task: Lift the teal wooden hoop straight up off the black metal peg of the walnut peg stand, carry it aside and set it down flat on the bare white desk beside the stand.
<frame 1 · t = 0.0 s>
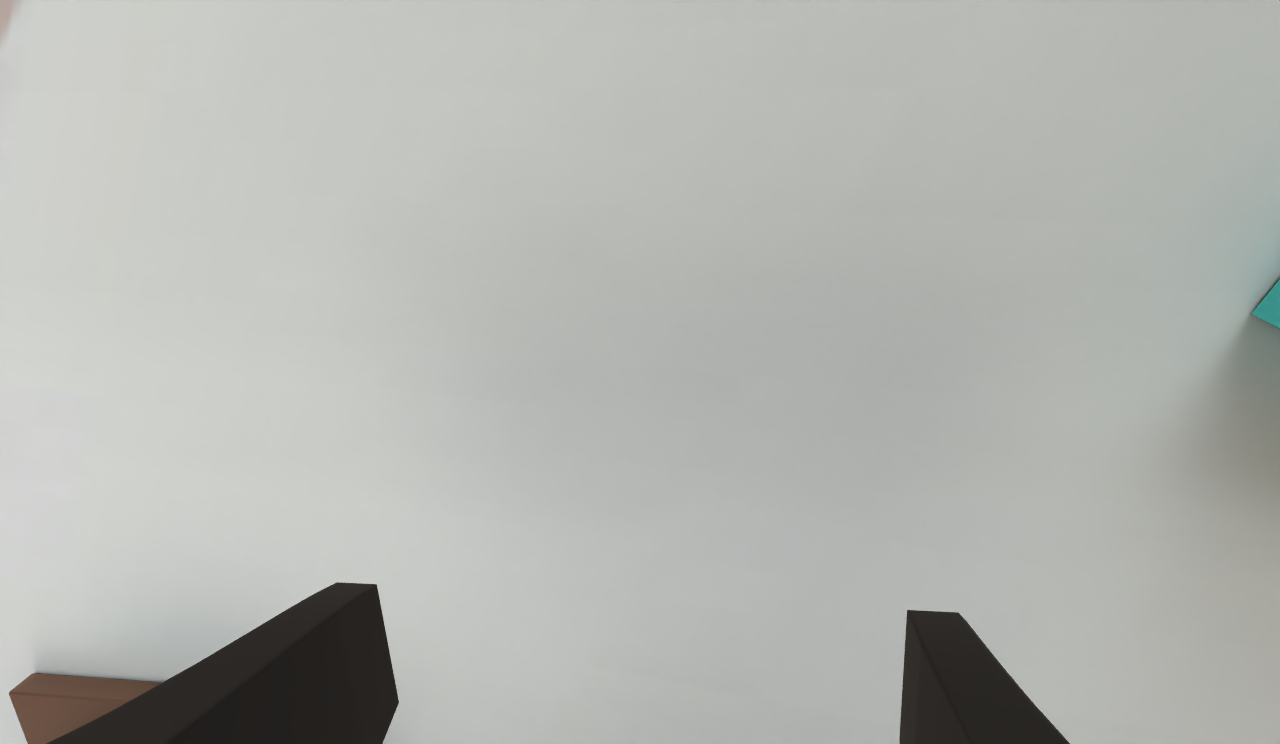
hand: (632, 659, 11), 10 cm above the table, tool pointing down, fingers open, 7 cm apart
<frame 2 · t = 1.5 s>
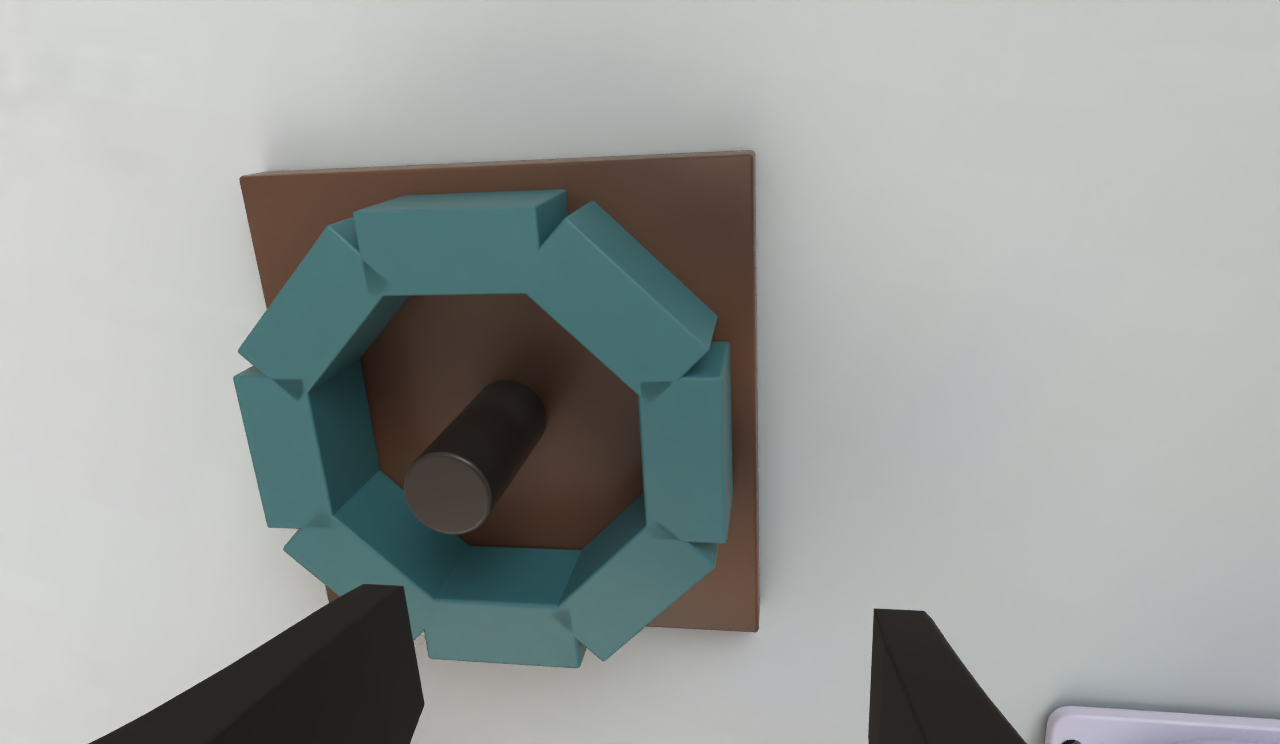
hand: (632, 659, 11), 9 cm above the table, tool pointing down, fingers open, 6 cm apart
hoop: (510, 415, 20), point 1 cm above the table, touching peg stand
peg stand: (522, 400, 21), on the table
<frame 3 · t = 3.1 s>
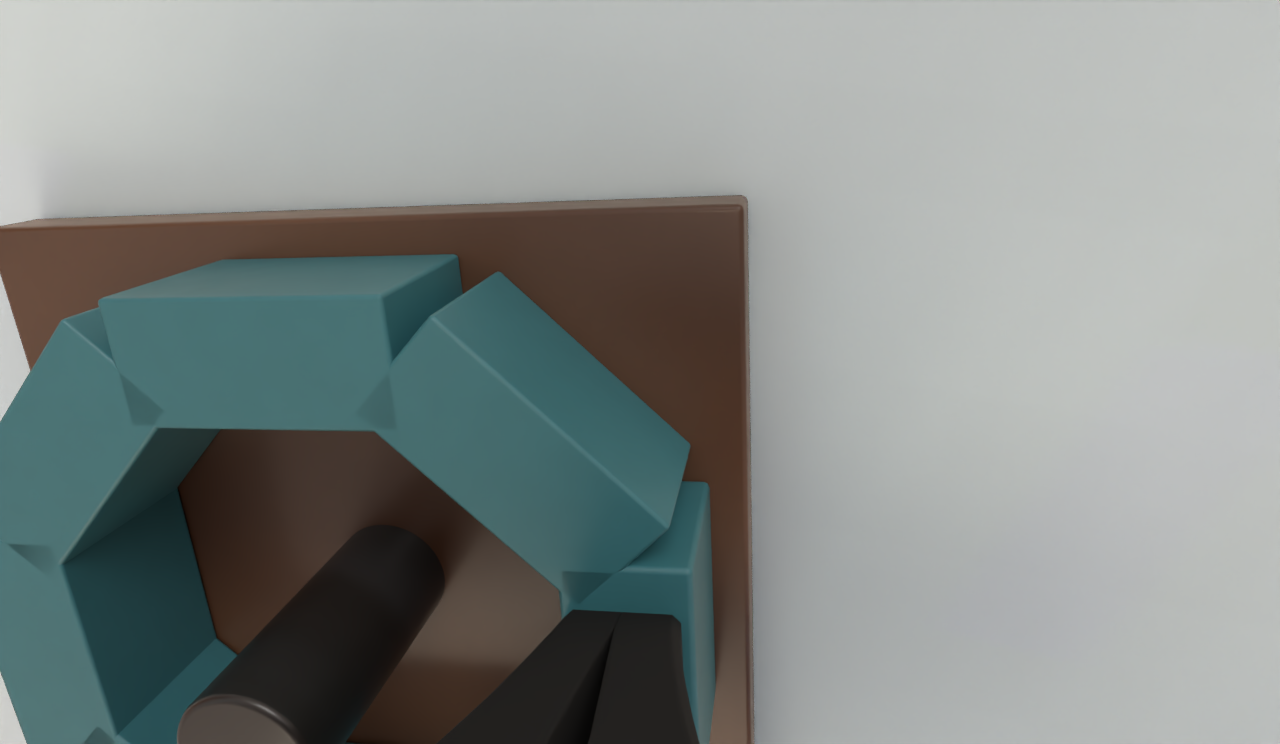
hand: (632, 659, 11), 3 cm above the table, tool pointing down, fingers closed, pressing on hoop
hoop: (392, 573, 14), point 1 cm above the table, touching gripper, peg stand
peg stand: (418, 541, 14), on the table
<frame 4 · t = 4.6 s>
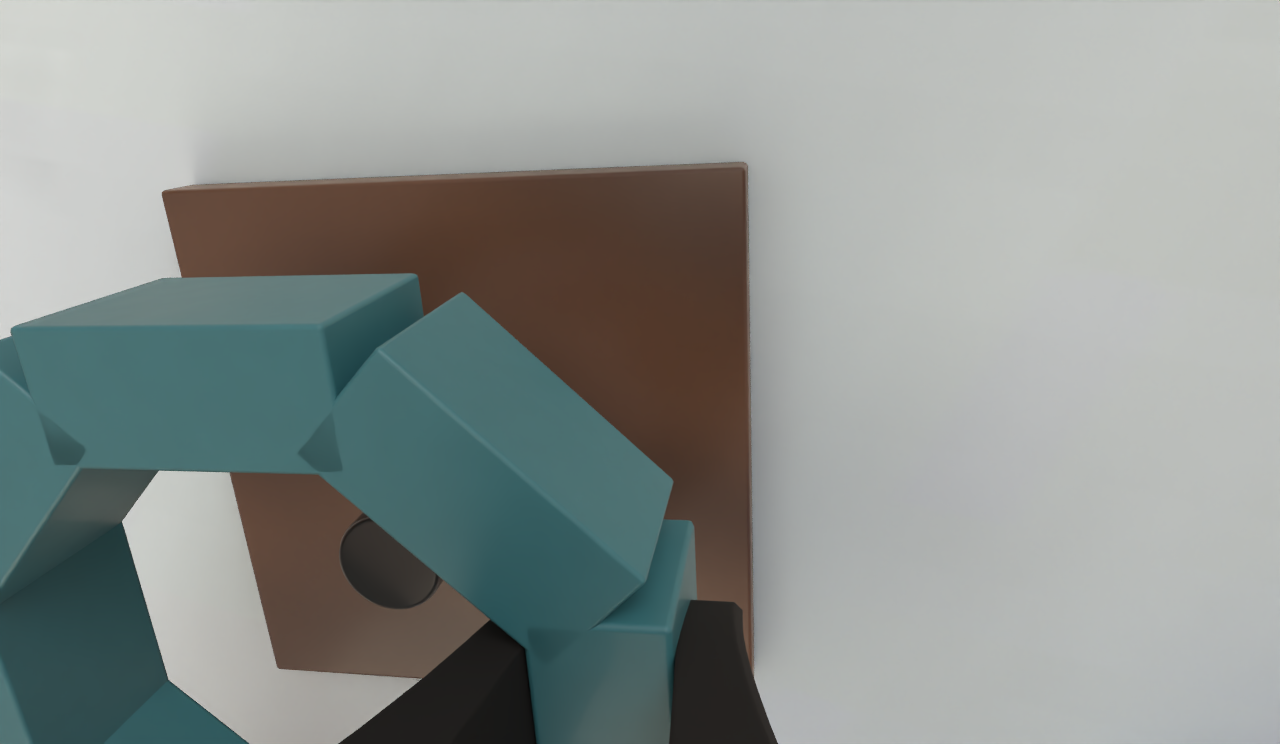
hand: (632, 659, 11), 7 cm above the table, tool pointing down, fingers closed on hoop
hoop: (354, 614, 13), point 6 cm above the table, touching gripper
peg stand: (487, 440, 18), on the table
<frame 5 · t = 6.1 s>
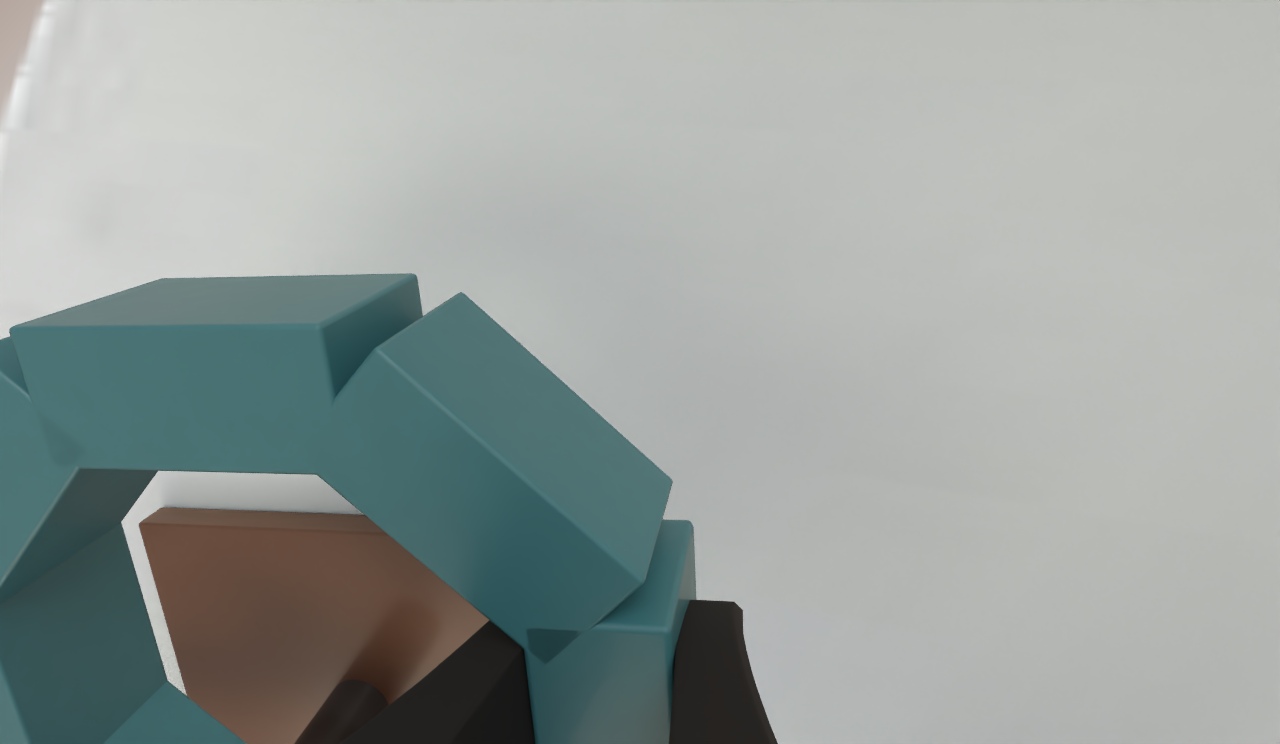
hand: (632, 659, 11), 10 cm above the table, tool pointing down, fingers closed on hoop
hoop: (353, 614, 13), point 9 cm above the table, touching gripper
peg stand: (376, 681, 25), on the table
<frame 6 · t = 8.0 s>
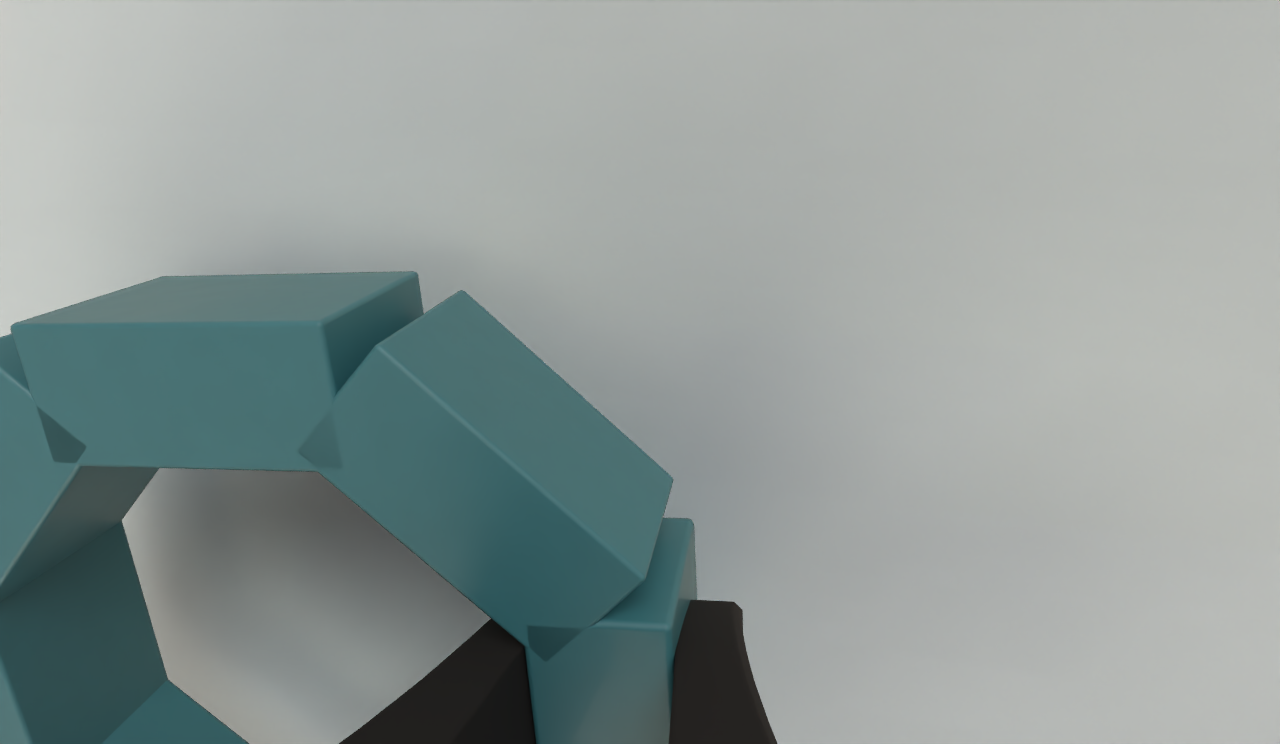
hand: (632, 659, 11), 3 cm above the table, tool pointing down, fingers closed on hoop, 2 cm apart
hoop: (353, 613, 13), point 2 cm above the table, touching gripper
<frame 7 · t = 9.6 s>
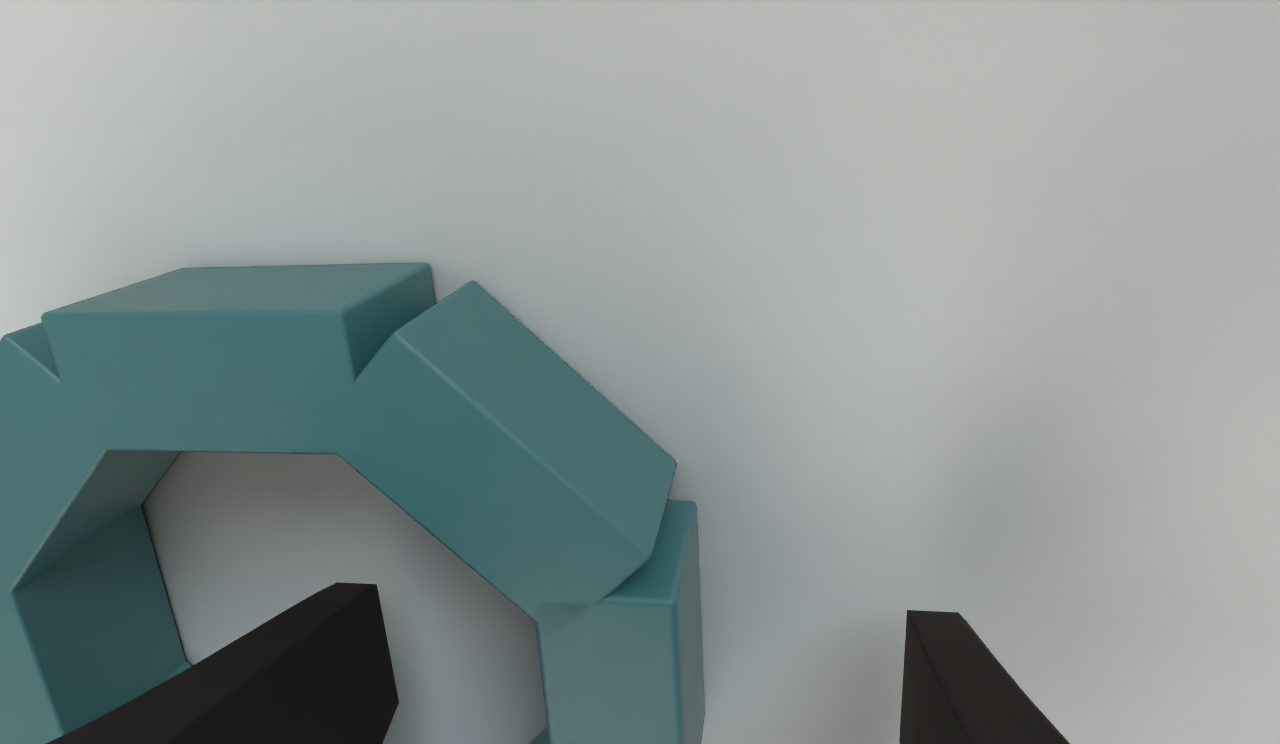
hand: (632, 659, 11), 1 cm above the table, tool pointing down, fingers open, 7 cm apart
hoop: (366, 594, 13), on the table
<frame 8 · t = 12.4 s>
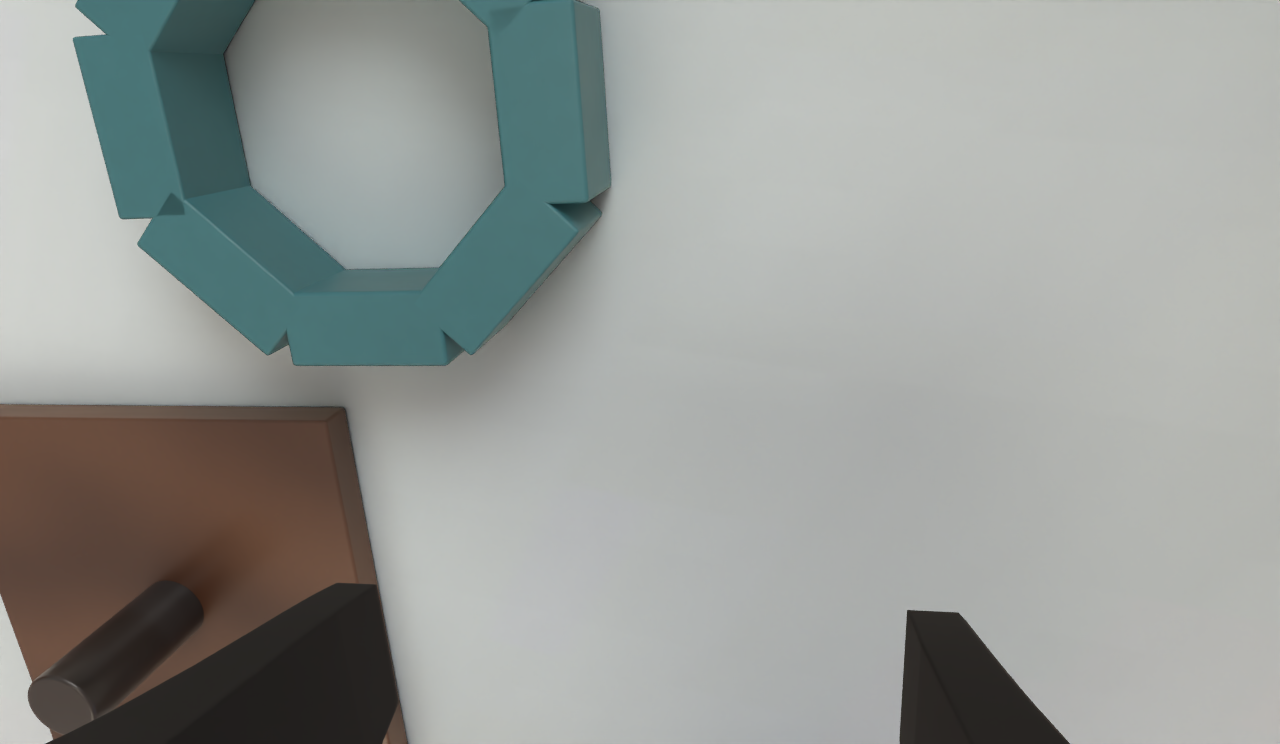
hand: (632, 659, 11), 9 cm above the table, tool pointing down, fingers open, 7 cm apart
hoop: (379, 113, 19), on the table
peg stand: (197, 587, 24), on the table
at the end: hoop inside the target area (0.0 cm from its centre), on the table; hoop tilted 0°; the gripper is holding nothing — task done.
